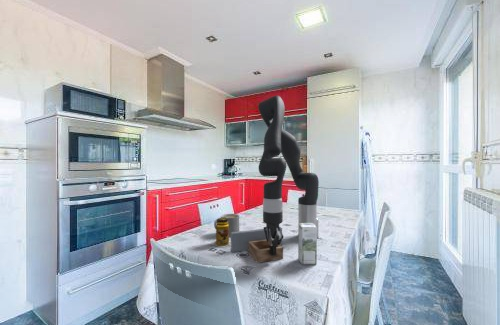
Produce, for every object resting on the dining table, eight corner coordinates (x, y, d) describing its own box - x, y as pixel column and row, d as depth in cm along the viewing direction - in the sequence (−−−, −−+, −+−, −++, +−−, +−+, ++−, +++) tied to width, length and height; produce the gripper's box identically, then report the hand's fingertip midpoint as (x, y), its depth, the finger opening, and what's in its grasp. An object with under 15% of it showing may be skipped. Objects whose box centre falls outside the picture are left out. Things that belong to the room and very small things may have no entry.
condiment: (223, 247, 102) (223, 221, 102) (209, 244, 106) (209, 219, 106) (232, 242, 108) (232, 217, 108) (218, 239, 112) (218, 215, 112)
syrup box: (312, 258, 90) (312, 222, 90) (317, 265, 84) (317, 226, 84) (298, 258, 90) (298, 222, 90) (302, 265, 84) (301, 226, 84)
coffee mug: (241, 232, 125) (241, 214, 125) (236, 237, 115) (236, 218, 115) (218, 230, 128) (218, 213, 128) (211, 236, 118) (211, 217, 118)
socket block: (271, 249, 100) (271, 238, 100) (282, 258, 90) (282, 247, 90) (248, 252, 96) (248, 241, 96) (257, 262, 86) (257, 251, 86)
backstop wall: (280, 244, 106) (280, 227, 106) (282, 245, 104) (282, 228, 104) (230, 250, 98) (230, 232, 98) (232, 252, 96) (232, 233, 96)
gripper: (290, 212, 82) (290, 260, 82) (273, 206, 94) (274, 247, 94) (271, 214, 79) (271, 263, 79) (257, 207, 92) (257, 250, 91)
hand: (272, 254), depth 87 cm, fingers closed
